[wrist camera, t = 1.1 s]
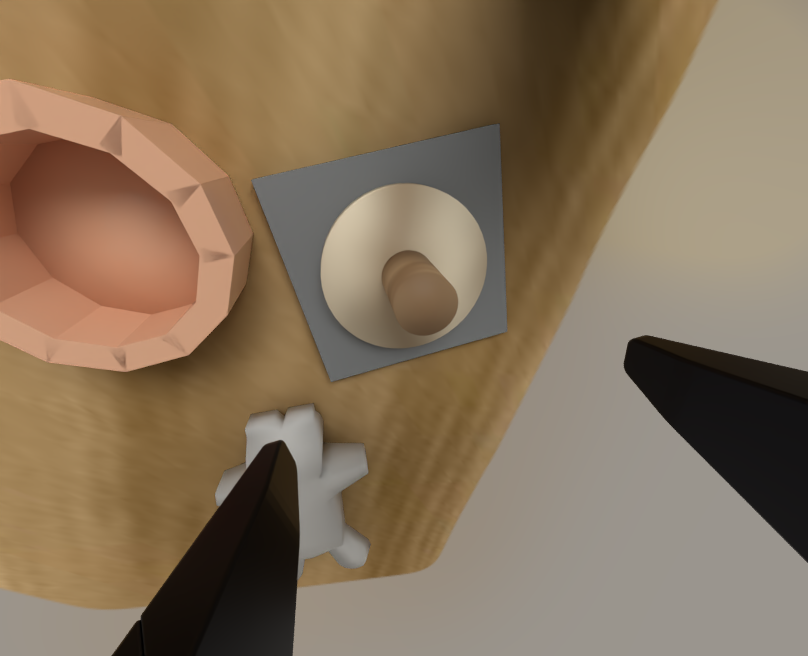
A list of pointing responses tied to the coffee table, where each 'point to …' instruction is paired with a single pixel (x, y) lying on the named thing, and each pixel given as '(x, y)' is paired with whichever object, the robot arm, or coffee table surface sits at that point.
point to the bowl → (110, 233)
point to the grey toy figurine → (311, 481)
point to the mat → (354, 176)
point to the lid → (403, 265)
